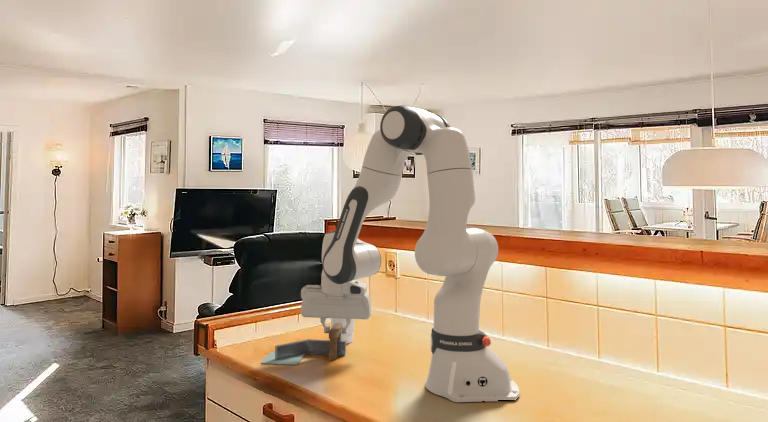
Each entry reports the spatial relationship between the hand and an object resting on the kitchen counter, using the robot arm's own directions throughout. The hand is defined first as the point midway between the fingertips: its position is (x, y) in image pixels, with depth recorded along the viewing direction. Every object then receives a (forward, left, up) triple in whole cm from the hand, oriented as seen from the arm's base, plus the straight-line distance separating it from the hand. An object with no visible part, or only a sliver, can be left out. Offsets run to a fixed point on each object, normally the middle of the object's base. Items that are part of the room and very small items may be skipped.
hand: (335, 333), depth 152 cm
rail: (+6, +4, -6) cm, 10 cm away
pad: (+14, +6, -6) cm, 16 cm away
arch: (0, 0, -6) cm, 6 cm away
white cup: (0, -14, -6) cm, 15 cm away
